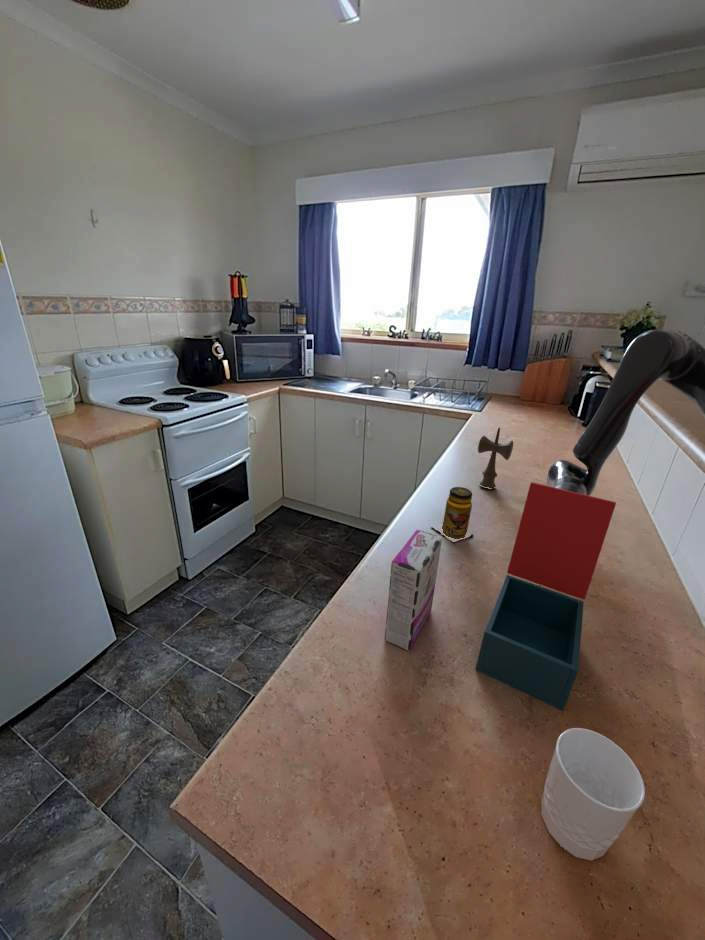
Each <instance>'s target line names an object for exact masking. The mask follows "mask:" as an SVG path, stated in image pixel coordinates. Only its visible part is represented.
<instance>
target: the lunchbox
mask: <svg viewBox="0 0 705 940" xmlns="http://www.w3.org/2000/svg"><path fill="white" fill-rule="evenodd" d="M584 602H585V601H584V600H582V599H579V598H576V597H573V596H570V595H567V594H565V593H562V592H559V591H556V590H553V589H550V588H547V587H545V586H542V585H539V584H536V583H533V582H530V581H528V580H525V579H524V580H523V579H522V578H519V577H516V576H513V575H511V574H506V575H505V578H504V580H503V583H502V585H501V589H500V590H499V593H498V596H497V598H496V601H495V603H494V606H493V609H492V611H491V614H490V617H489V619H488V621H487V624H486V627H485V629H484V632H483V636H482V641H481V645H480V649H479V653H478V657H477V662H476V666H475V670H476V671H478V672H480V673H482V674H484V675H487V676H488V677H491V678H492V679H495V680H497V681H499V682H501V683H503V684H506V685H508V686H509V687H512V688H514V689H516V690H518V691H520V692H523V693H525V694H526V695H528V696H531V697H533V698H535V699H537V700H540V701H541V702H544V703H546V704H547V705H550V706H553V707H554V708H557V709H559V710H561V711H565V708H566V706H567V705H566V704H567V702H568V700H569V697H570V694H571V691H572V689H573V687H574V684H575V681H576V678H577V676H578V673H579V667H580V654H581V641H582V629H583V628H582V627H583V616H584V604H585V603H584Z"/></svg>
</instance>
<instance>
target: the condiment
mask: <svg viewBox="0 0 705 940" xmlns="http://www.w3.org/2000/svg"><path fill="white" fill-rule="evenodd" d="M472 496H473V492H472V491H471V490H470V489H468V488H466V487H463V486H454V487H452V488H450V490H449V494H448V497H447V499H446V503H445V509H444V515H443V520H442V521H443V522H442V523H443V526H442V529H443V533H444V534H445V535H446V536H448V537H451V538H454V539H460V538H464V537H465V535H466V533H467V531H468V528H469V523H470V518H471V514H472V507H473V503H472V501H473V500H472V498H473V497H472Z"/></svg>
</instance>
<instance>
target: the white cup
mask: <svg viewBox="0 0 705 940" xmlns="http://www.w3.org/2000/svg"><path fill="white" fill-rule="evenodd" d="M645 795H646V789H645V783H644V779H643V777H642V774H641V773H640V770H639V769H638V767H637V766H636V764H635V762H634V761H633V760H632V758H631V757H630V756H629V755H628V754H627V753H626V752H625V750H623V749H622V748H621V747H620V746H619V745H617V744H616V743H615V742H614V741H613V740H611V739H609V738H608V737H606V736H604V735H603V734H601V733H598V732H596V731H594V730H592V729H588V728H582V727H574V728H573V727H571V728H568V729H566V730H564V731H563V732H562V733H561V734H560V735H559V736H558V738H557V740H556V744H555V748H554V750H553V754H552V757H551V760H550V763H549V767H548V771H547V775H546V779H545V782H544V787H543V792H542V795H541V798H540V813H541V814H540V815H541V817H542V819H543V822H544V824H545V827H546V829H547V831H548V833H549V834H550V836H551V837H552V838H553V839H554V840H555V841H556V843H557V842H558V843H557V844H558V845H559V844H560V845H559V847H561V848H562V847H563V848H564V849H563V848H562V849H563V850H565V851H566V850H567V851H566V852H568V853H569V854H571V855H572V856H574V857H575V858H577V859H581V860H586V861H591V862H592V861H595V860H597V859H599V858H602V857H603V856H604V855H605V854H606V853H607V851H608V850H609V848H610V846H612V845H613V844H614V843H615V842H616V841H617V840H618V838H619V836H620V835H621V834H622V833H623V832H624V830H625V829H626V827H627V826H628V825H629V823H630V821H631V820H632V819H633V817H634V816H635V814H636V813H637V812H638V810H639V808H640V807H641V806H642V804H643V802H644V800H645Z"/></svg>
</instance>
